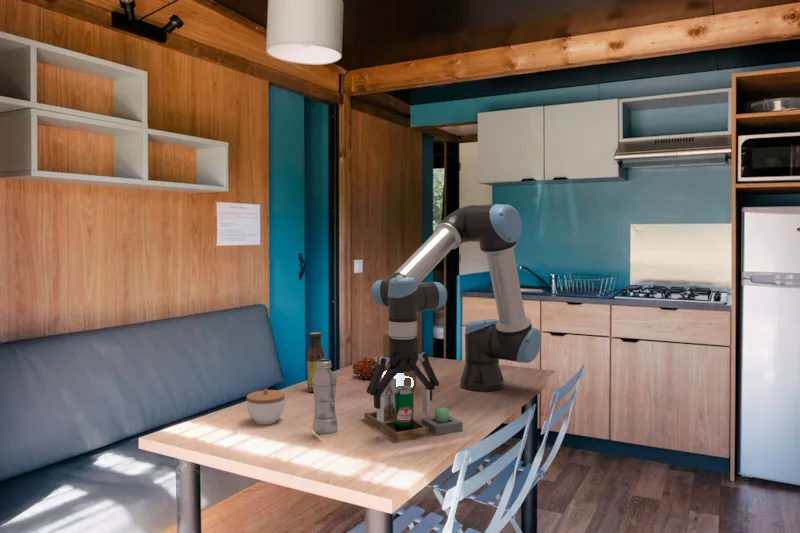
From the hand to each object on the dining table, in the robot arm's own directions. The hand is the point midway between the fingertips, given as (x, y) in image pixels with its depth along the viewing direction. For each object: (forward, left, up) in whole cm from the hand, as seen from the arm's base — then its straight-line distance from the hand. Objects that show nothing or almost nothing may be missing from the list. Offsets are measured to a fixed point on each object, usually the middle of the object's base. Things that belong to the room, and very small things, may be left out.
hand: (403, 416), depth 162 cm
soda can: (0, 0, -4) cm, 4 cm away
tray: (0, -5, -5) cm, 7 cm away
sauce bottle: (+4, -56, -6) cm, 56 cm away
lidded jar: (+28, -31, -6) cm, 43 cm away
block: (-23, -46, -6) cm, 52 cm away
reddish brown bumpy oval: (-18, -64, -6) cm, 67 cm away
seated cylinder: (0, -10, -4) cm, 11 cm away
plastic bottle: (+17, -12, -6) cm, 22 cm away
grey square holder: (-11, +2, -5) cm, 12 cm away
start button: (-11, +2, -2) cm, 11 cm away
